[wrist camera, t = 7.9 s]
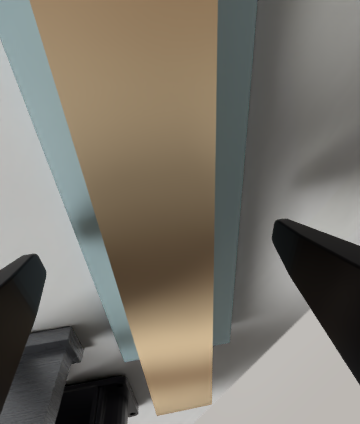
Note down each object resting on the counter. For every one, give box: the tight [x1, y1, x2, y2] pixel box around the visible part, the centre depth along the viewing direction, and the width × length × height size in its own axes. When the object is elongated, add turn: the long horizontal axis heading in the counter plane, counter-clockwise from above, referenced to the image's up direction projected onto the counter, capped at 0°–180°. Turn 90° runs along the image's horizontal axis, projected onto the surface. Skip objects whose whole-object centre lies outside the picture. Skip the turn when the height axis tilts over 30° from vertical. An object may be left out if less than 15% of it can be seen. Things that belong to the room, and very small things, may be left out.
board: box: [0, 0, 258, 362], centre depth 10 cm, size 20×7×1 cm, turn 4°
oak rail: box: [29, 0, 218, 416], centre depth 8 cm, size 20×3×3 cm, turn 4°
